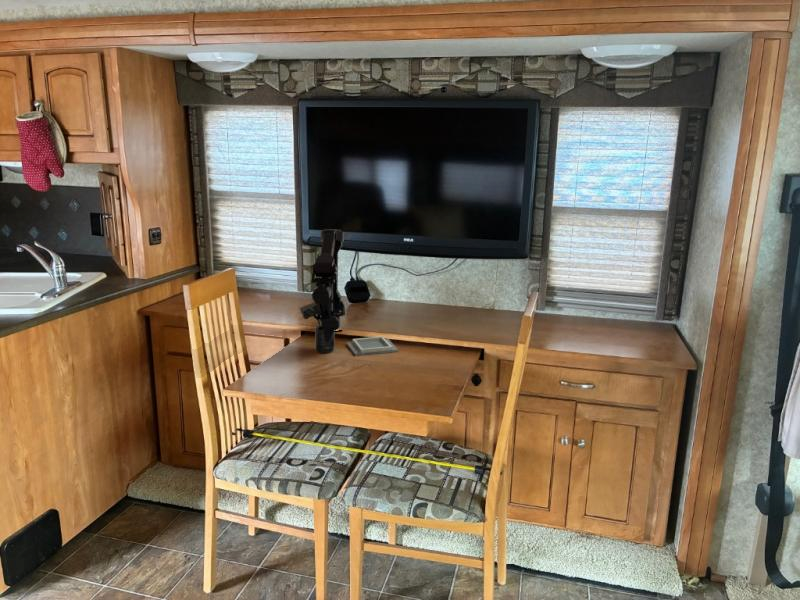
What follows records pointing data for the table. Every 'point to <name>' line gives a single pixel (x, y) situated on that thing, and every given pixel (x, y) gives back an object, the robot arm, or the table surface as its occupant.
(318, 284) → the robot arm
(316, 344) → the supplement bottle
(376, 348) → the coaster tray
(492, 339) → the table surface
